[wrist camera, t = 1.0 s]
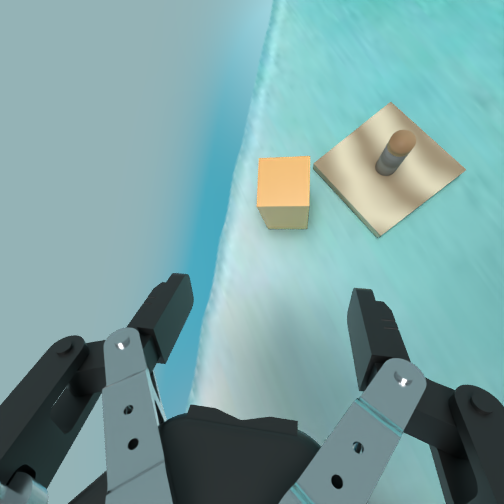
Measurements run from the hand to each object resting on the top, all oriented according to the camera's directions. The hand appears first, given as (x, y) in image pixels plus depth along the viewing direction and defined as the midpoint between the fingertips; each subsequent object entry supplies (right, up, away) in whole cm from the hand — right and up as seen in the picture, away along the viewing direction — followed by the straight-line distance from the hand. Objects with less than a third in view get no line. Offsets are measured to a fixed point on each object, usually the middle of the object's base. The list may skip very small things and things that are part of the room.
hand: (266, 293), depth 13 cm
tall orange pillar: (+4, +8, +24) cm, 26 cm away
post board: (+17, +13, +23) cm, 31 cm away
